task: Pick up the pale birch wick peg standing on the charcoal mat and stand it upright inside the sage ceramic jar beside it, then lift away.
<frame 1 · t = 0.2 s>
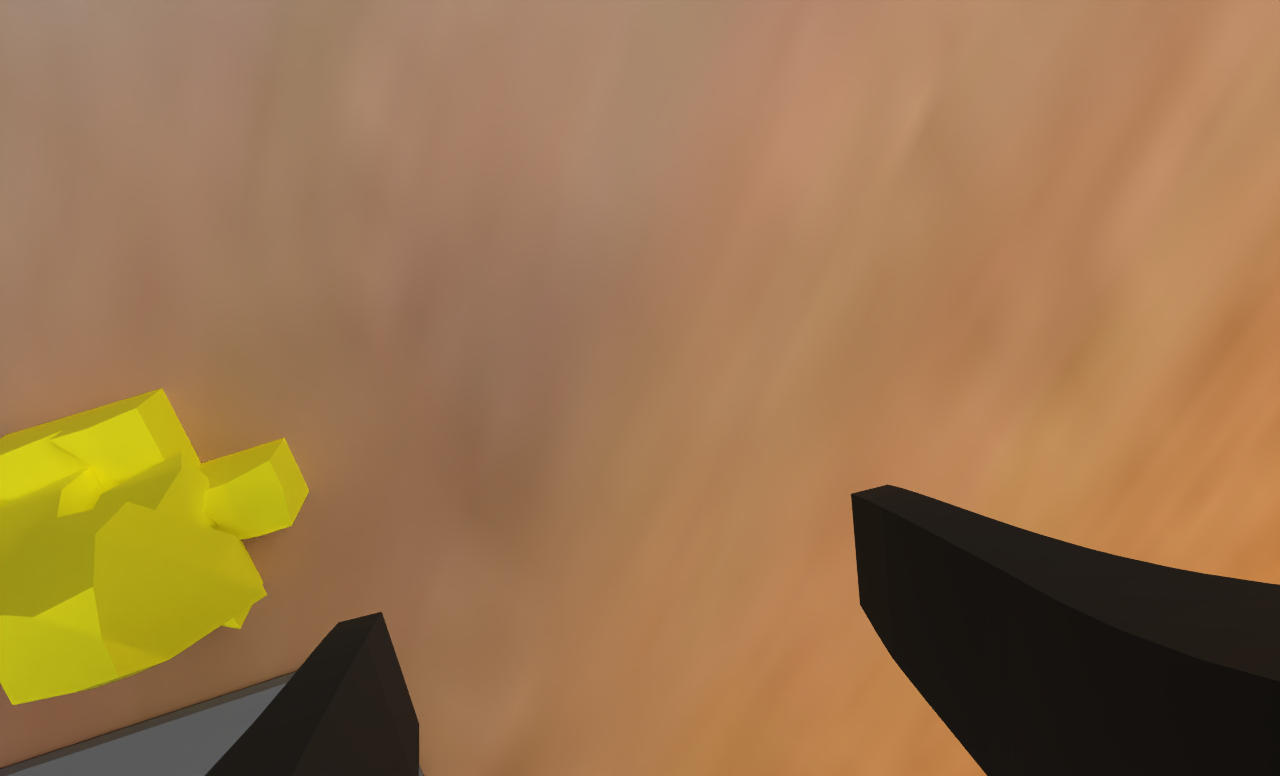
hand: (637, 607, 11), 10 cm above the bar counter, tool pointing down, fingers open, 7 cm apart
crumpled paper: (147, 507, 20), on the bar counter
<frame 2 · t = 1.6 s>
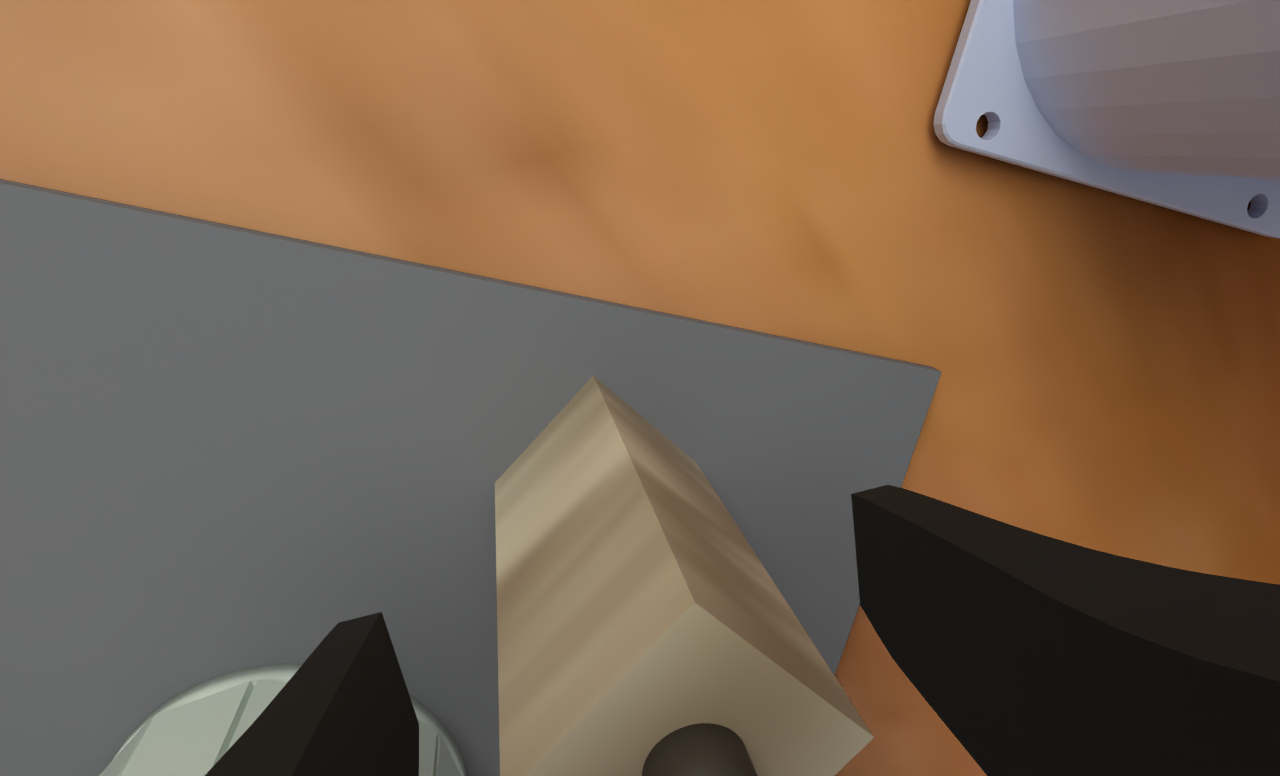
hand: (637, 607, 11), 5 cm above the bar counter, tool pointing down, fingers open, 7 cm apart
mat: (438, 653, 17), on the bar counter
wick peg: (597, 472, 16), resting on mat
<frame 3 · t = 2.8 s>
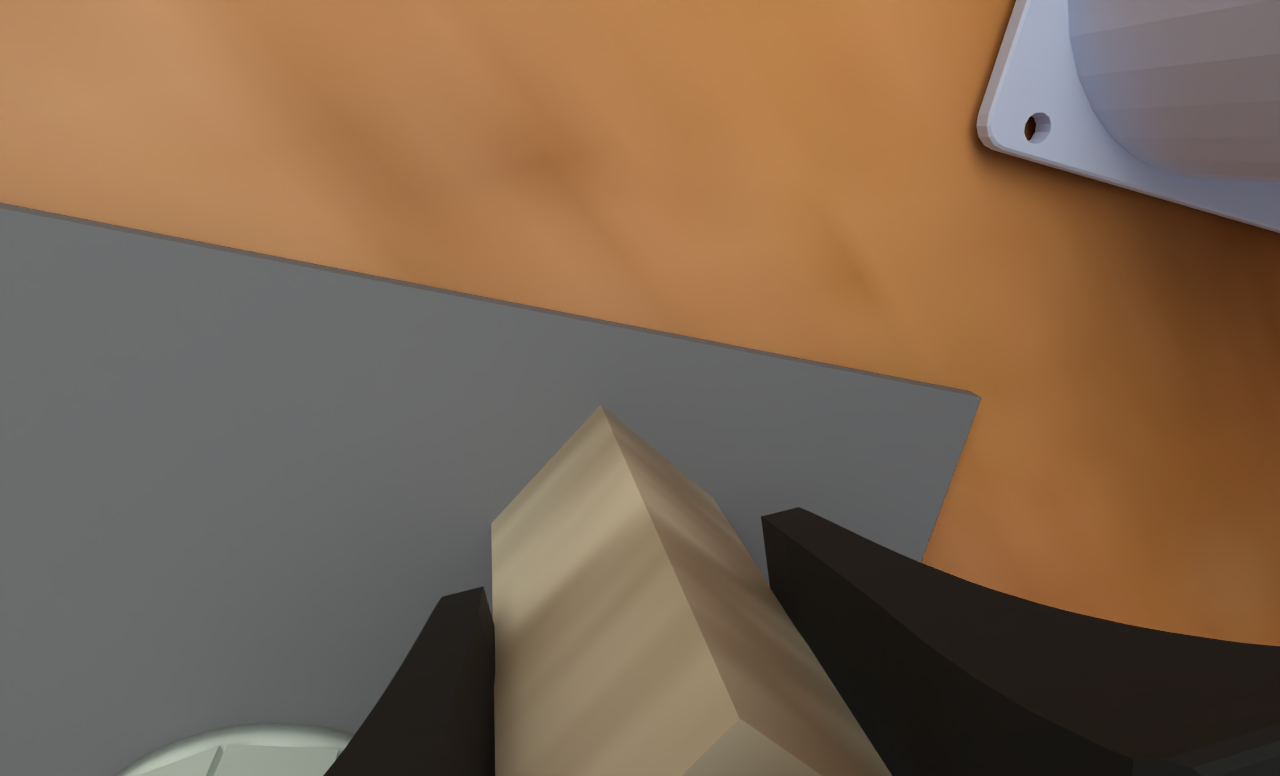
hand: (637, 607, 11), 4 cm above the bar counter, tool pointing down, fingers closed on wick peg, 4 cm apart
mat: (429, 708, 15), on the bar counter
wick peg: (605, 510, 14), resting on mat, touching gripper
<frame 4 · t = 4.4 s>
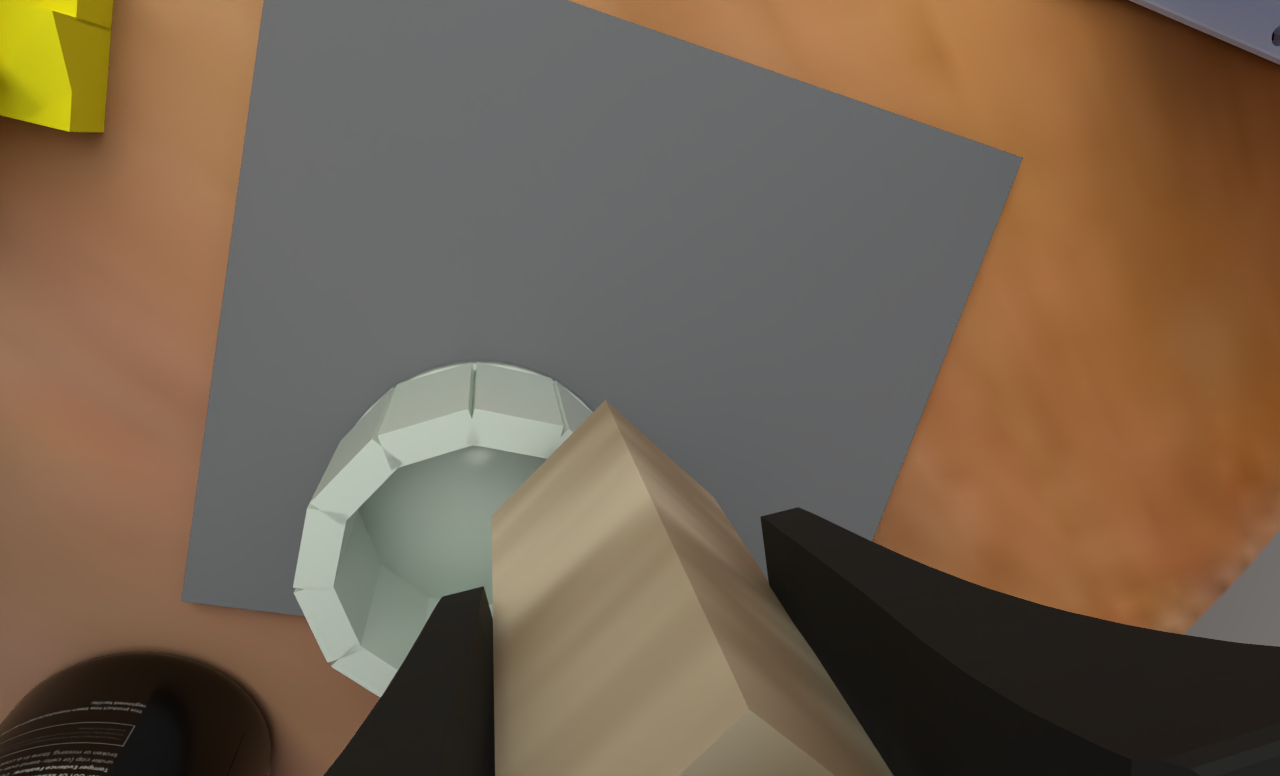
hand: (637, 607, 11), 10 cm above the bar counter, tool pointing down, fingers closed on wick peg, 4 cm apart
jar: (482, 494, 21), resting on mat
mat: (605, 372, 21), on the bar counter
supplement bottle: (153, 739, 22), on the bar counter
wick peg: (606, 506, 14), point 7 cm above the bar counter, touching gripper
when the fingers open (6 cm above the bar counter, at t = 6.3 s): wick peg drops 2 cm, resting on jar.
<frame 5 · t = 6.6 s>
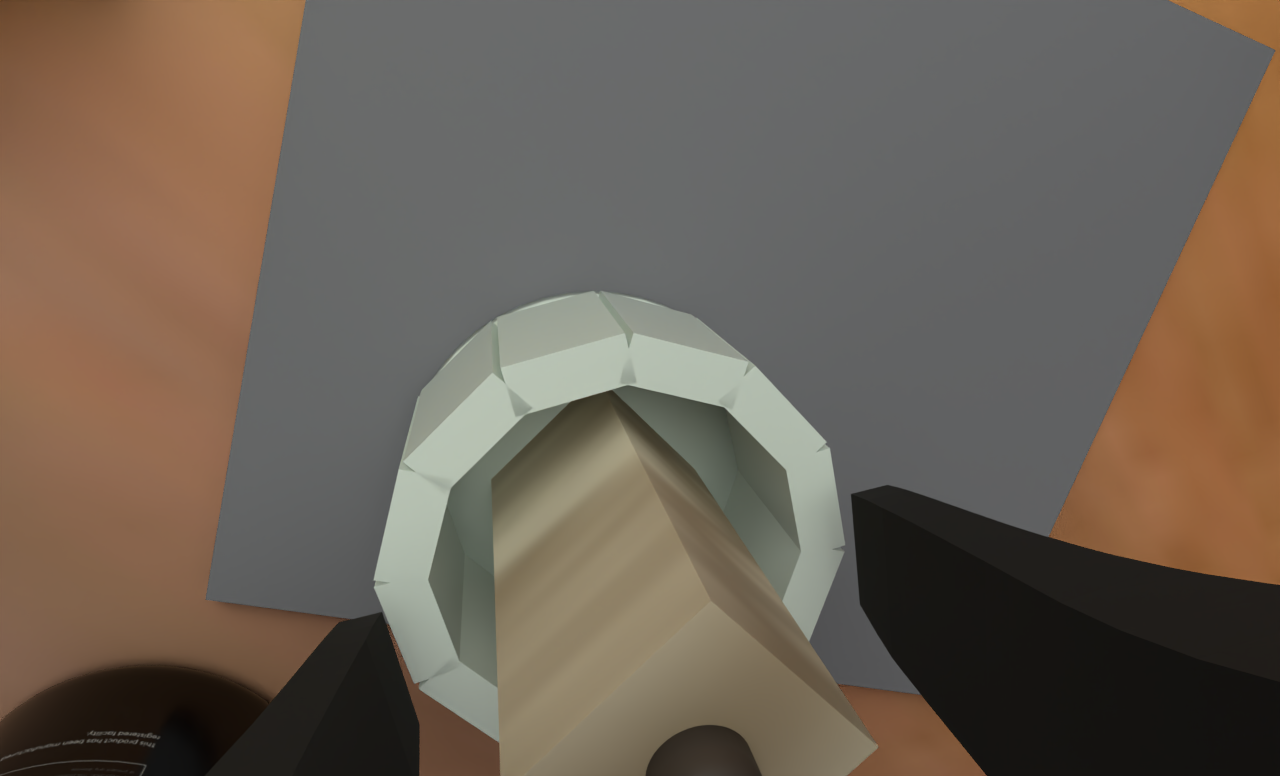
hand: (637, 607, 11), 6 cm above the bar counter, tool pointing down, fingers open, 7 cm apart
jar: (590, 466, 16), resting on mat
mat: (748, 313, 16), on the bar counter
supplement bottle: (164, 774, 17), on the bar counter
wick peg: (595, 473, 16), point 1 cm above the bar counter, touching jar
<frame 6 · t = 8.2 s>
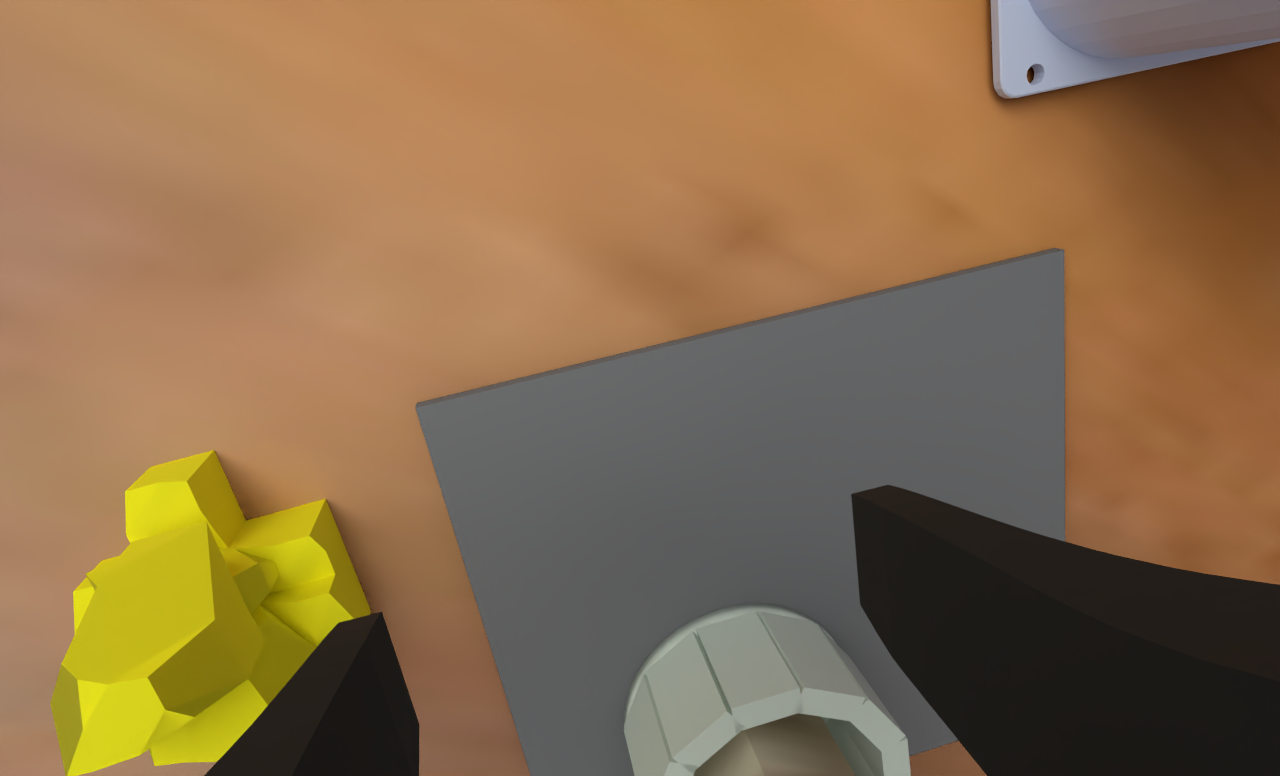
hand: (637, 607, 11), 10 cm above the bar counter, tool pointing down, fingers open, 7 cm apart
jar: (737, 704, 25), resting on mat
mat: (789, 574, 24), on the bar counter
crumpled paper: (245, 580, 21), on the bar counter
wick peg: (743, 714, 24), point 1 cm above the bar counter, touching jar
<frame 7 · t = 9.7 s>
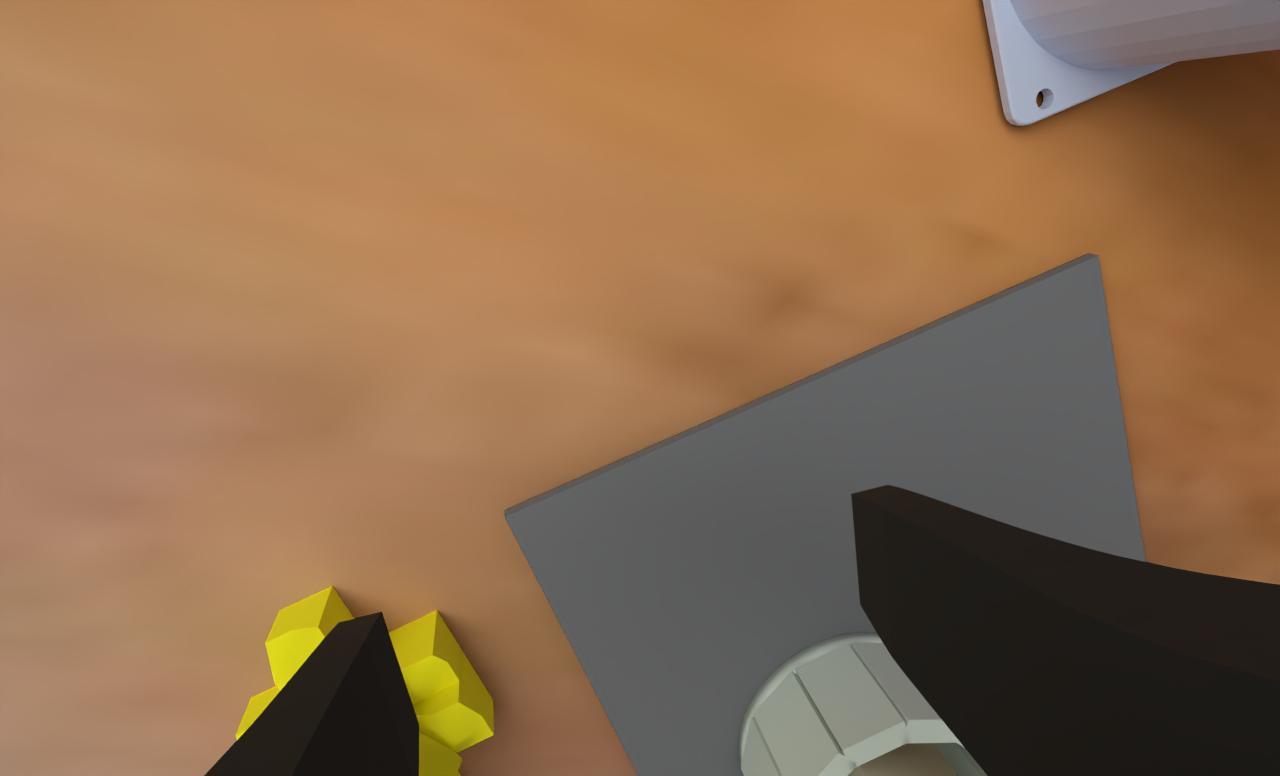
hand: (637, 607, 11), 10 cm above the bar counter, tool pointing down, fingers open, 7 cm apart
jar: (843, 726, 26), resting on mat
mat: (874, 601, 25), on the bar counter
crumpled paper: (377, 692, 23), on the bar counter
wick peg: (850, 737, 26), point 1 cm above the bar counter, touching jar
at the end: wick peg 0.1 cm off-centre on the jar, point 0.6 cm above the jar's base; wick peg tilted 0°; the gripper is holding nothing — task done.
